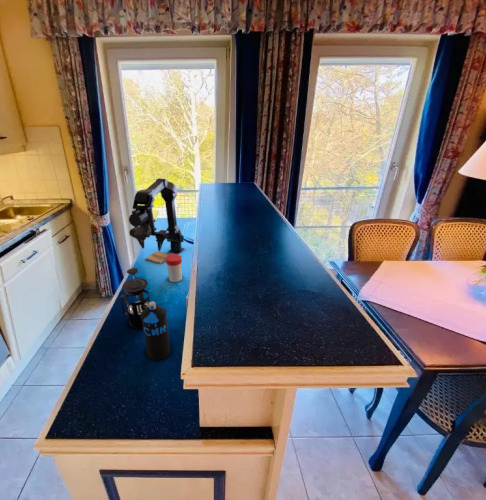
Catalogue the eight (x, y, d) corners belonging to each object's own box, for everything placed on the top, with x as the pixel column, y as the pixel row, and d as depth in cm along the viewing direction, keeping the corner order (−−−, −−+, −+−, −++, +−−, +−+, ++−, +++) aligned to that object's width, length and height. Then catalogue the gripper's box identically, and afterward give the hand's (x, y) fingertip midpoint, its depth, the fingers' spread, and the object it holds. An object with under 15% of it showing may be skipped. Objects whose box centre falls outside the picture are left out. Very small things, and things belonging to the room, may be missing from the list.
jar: (173, 273, 141) (171, 254, 136) (184, 276, 138) (183, 257, 133) (166, 280, 135) (163, 260, 131) (177, 283, 132) (175, 263, 128)
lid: (172, 257, 137) (171, 252, 136) (184, 260, 134) (184, 255, 133) (162, 263, 131) (162, 259, 130) (176, 267, 128) (175, 262, 127)
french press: (157, 313, 113) (150, 263, 103) (152, 329, 105) (144, 277, 95) (128, 313, 114) (119, 263, 104) (121, 329, 105) (110, 277, 95)
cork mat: (156, 252, 163) (156, 251, 163) (171, 255, 158) (170, 254, 158) (145, 259, 155) (145, 258, 155) (160, 263, 151) (160, 262, 150)
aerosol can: (147, 342, 99) (140, 296, 90) (171, 340, 99) (165, 294, 90) (145, 361, 91) (136, 312, 82) (170, 358, 92) (164, 310, 83)
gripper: (119, 222, 124) (125, 254, 131) (155, 227, 117) (159, 260, 124) (134, 214, 133) (138, 244, 140) (168, 218, 126) (171, 249, 133)
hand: (151, 249), depth 134 cm, fingers open, 9 cm apart
